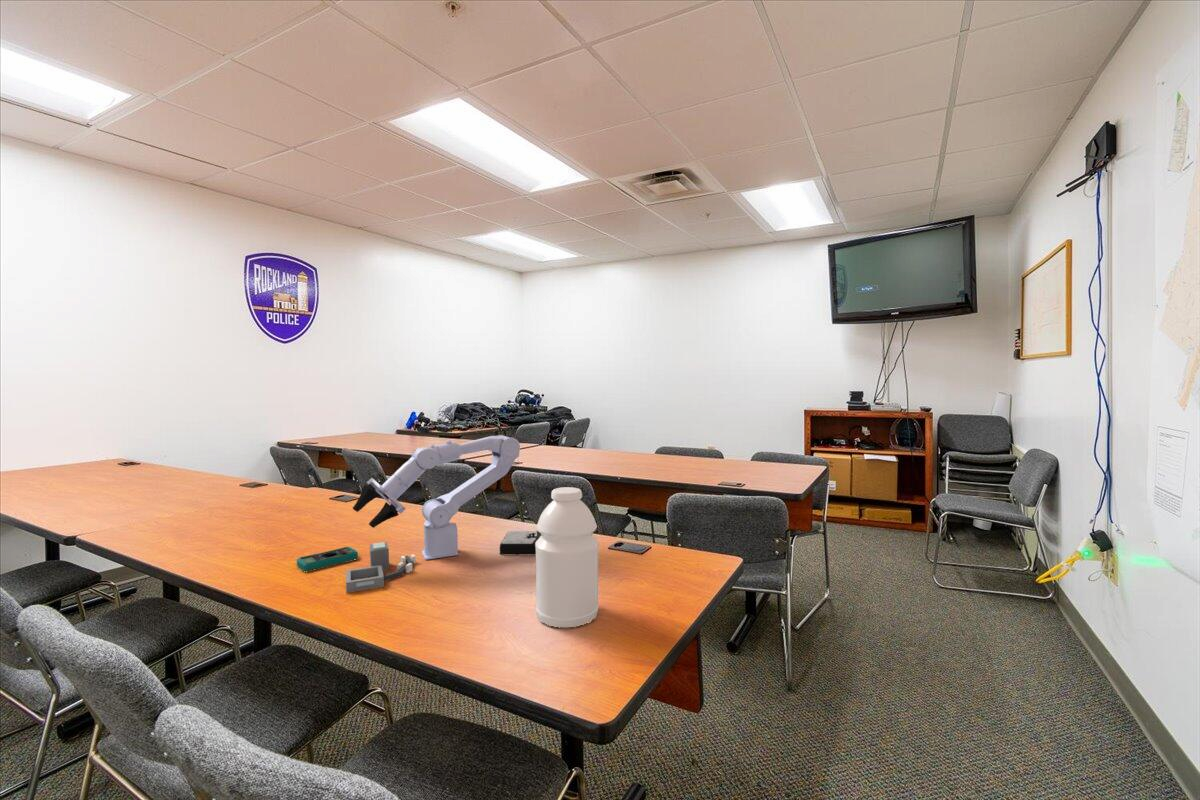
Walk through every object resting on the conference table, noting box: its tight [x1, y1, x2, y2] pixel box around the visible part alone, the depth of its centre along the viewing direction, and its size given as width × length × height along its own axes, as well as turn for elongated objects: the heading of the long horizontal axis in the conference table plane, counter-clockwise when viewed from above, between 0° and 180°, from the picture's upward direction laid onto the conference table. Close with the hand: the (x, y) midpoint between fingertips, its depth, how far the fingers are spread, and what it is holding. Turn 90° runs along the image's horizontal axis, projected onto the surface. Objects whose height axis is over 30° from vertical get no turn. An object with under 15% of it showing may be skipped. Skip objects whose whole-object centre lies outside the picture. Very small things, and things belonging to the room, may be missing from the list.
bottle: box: [535, 486, 600, 629], centre depth 114 cm, size 14×14×28 cm
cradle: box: [345, 565, 385, 594], centre depth 132 cm, size 8×9×2 cm
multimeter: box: [499, 530, 541, 556], centre depth 160 cm, size 13×19×5 cm
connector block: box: [369, 541, 390, 572], centre depth 143 cm, size 4×6×6 cm
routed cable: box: [383, 553, 417, 582], centre depth 141 cm, size 5×16×2 cm, turn 179°
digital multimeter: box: [296, 546, 359, 573], centre depth 148 cm, size 7×15×3 cm, turn 136°
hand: (362, 518), depth 142 cm, fingers open, 7 cm apart
